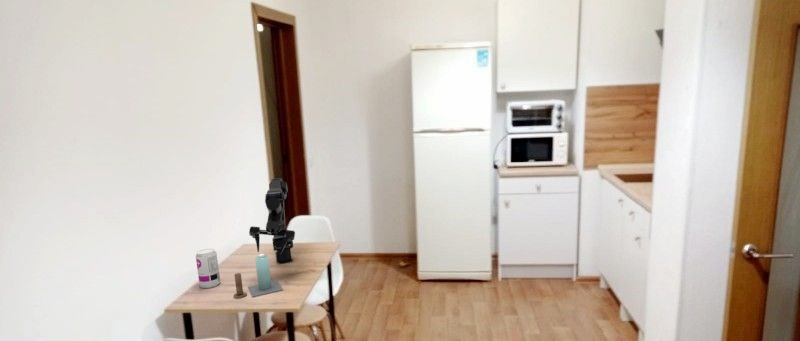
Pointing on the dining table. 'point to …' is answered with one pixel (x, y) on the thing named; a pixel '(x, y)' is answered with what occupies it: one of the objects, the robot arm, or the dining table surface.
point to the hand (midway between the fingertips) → (269, 253)
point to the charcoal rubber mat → (256, 292)
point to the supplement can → (207, 268)
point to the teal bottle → (263, 272)
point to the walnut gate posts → (239, 287)
